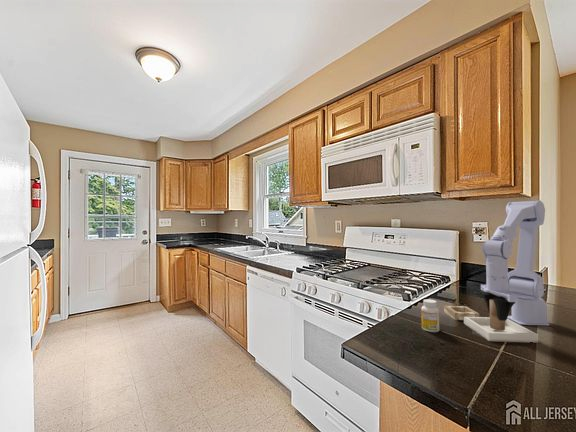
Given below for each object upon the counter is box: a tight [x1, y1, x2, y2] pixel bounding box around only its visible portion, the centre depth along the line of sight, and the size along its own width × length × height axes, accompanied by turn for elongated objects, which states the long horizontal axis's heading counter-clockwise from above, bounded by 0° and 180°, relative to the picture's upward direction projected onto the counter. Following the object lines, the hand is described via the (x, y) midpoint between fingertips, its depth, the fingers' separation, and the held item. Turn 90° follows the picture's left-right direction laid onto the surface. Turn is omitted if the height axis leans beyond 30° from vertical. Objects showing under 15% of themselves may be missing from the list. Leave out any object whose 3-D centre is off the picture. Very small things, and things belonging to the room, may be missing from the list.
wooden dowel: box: [489, 299, 505, 330], centre depth 90 cm, size 4×4×9 cm
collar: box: [443, 305, 480, 321], centre depth 105 cm, size 8×8×2 cm
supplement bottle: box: [420, 298, 440, 333], centre depth 93 cm, size 5×5×10 cm
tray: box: [463, 316, 539, 344], centre depth 90 cm, size 14×14×2 cm
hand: (497, 317), depth 90 cm, fingers closed on wooden dowel, 4 cm apart
